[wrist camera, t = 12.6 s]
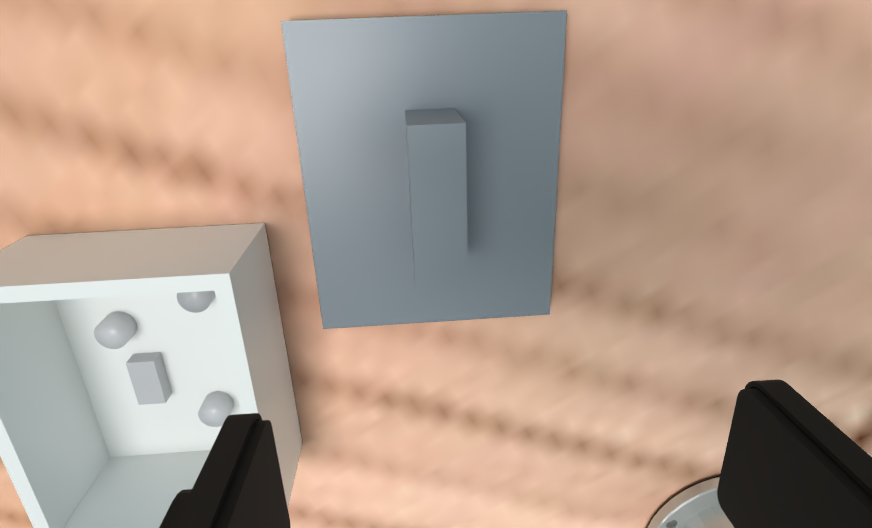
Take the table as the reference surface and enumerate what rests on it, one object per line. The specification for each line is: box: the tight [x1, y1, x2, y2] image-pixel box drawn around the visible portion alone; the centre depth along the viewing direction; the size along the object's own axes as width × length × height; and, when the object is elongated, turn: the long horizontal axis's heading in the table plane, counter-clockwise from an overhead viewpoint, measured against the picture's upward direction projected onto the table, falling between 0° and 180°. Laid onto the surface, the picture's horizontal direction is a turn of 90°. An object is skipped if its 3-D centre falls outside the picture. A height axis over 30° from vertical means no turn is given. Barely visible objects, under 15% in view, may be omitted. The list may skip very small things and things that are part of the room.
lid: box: [281, 11, 567, 329], centre depth 27 cm, size 17×14×7 cm
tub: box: [0, 223, 302, 528], centre depth 30 cm, size 16×13×7 cm
